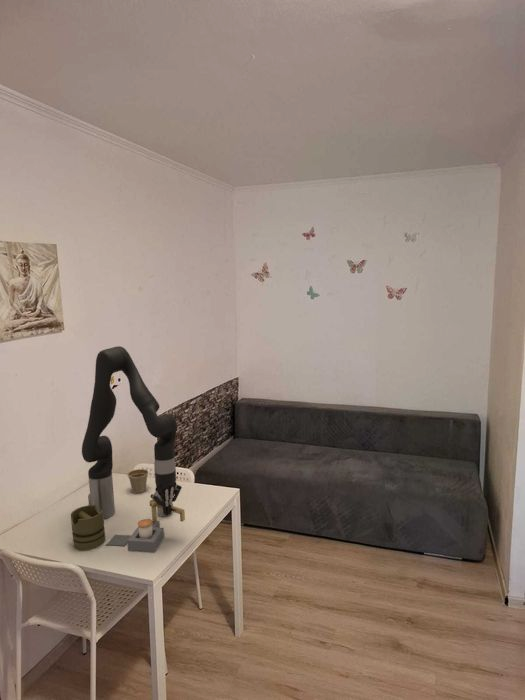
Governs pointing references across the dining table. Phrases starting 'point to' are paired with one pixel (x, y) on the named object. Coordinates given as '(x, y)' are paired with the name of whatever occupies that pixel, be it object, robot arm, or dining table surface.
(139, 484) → the flower pot
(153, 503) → the lever
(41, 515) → the dining table surface
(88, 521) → the piston
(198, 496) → the dining table surface
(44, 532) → the dining table surface
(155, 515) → the socket block
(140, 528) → the plug
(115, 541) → the mat
